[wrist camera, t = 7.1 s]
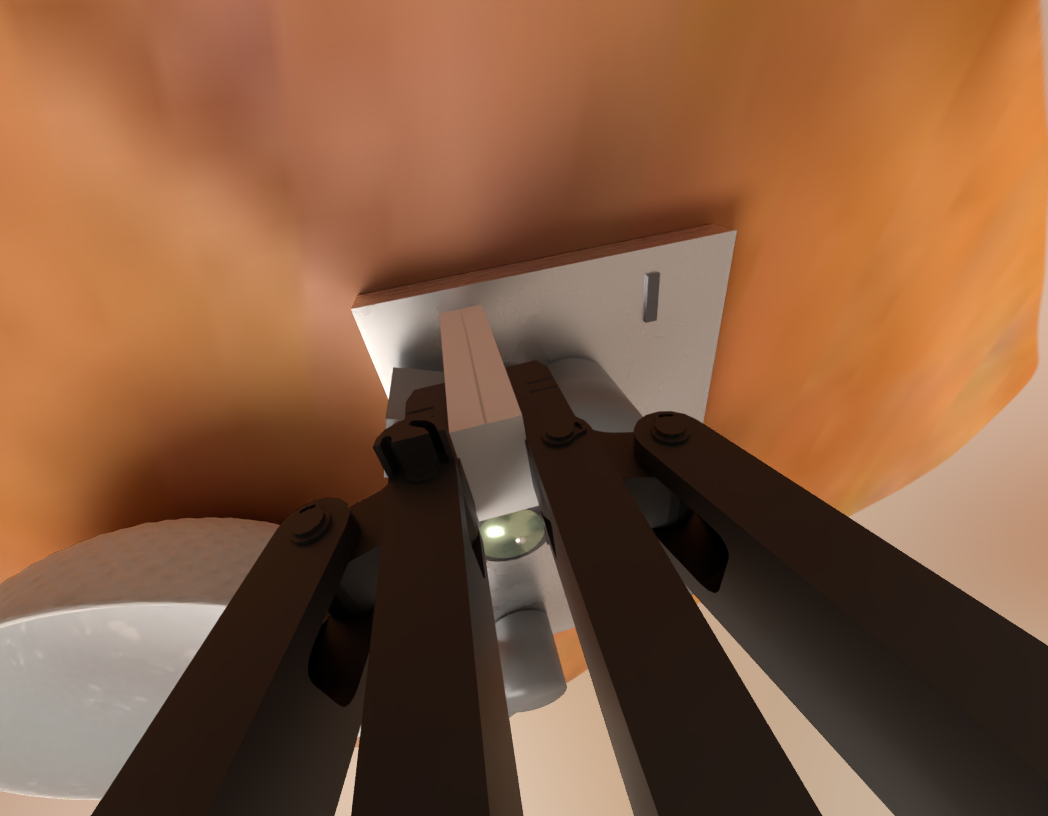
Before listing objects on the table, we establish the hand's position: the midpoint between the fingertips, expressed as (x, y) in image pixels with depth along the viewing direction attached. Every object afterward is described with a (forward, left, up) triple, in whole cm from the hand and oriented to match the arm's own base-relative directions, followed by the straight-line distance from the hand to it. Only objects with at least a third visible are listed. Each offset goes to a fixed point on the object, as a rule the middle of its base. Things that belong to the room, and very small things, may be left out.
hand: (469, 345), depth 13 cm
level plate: (+12, +4, -3) cm, 13 cm away
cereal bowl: (+12, -15, -4) cm, 20 cm away
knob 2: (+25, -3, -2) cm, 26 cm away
